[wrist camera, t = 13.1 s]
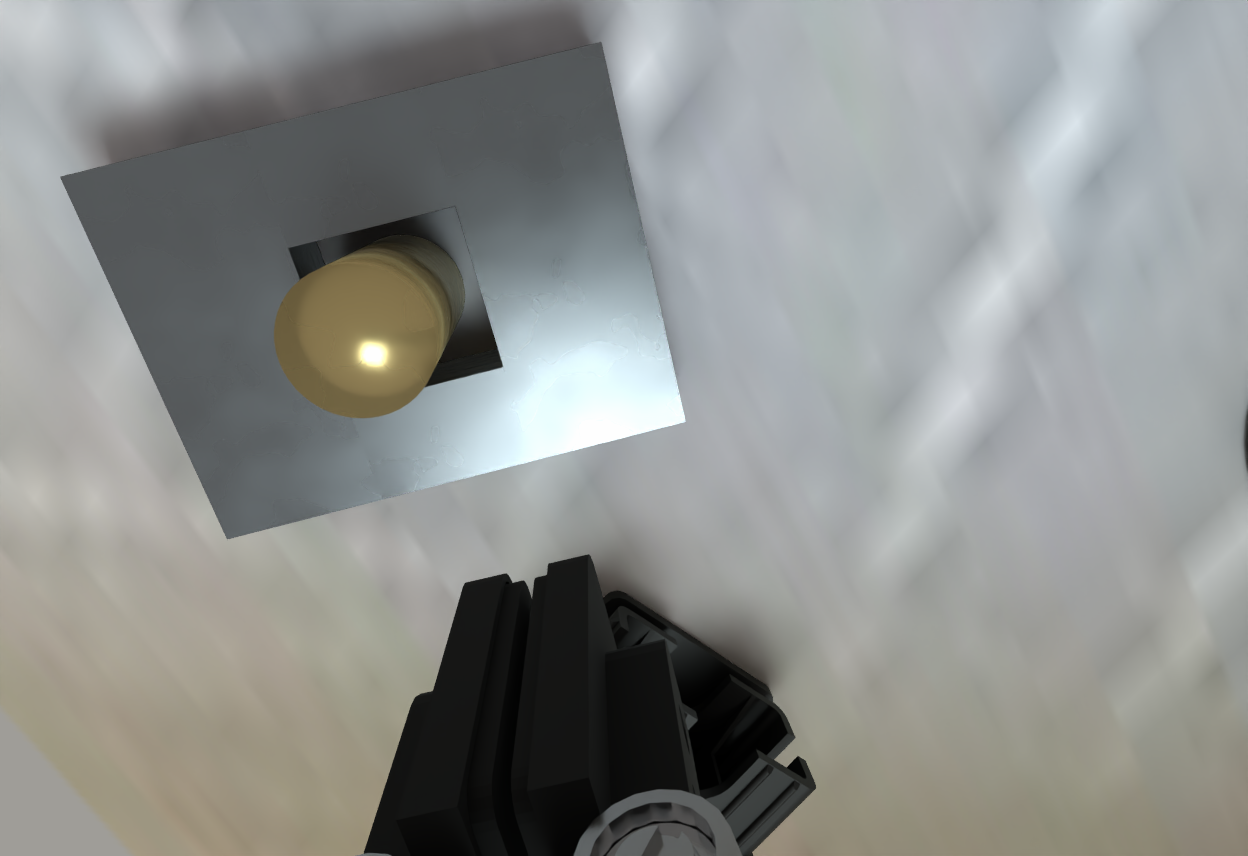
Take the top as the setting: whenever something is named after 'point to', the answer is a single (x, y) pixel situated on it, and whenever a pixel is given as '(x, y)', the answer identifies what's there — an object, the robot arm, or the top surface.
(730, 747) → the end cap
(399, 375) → the beige cylinder
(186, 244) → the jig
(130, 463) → the top surface
